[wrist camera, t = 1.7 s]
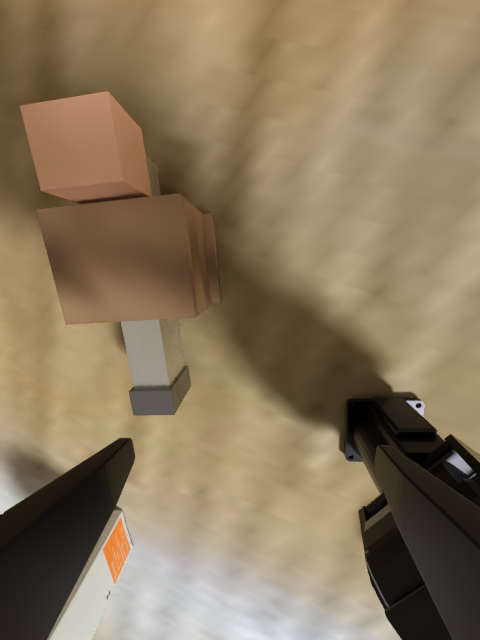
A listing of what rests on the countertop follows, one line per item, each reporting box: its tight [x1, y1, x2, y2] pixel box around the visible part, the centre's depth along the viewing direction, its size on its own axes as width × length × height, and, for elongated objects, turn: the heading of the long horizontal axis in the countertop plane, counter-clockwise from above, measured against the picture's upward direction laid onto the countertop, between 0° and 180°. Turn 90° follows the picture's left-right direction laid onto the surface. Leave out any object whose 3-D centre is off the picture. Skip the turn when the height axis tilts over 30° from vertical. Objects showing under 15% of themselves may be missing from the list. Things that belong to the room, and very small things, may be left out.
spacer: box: [20, 91, 152, 204], centre depth 12 cm, size 4×4×3 cm
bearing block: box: [36, 193, 222, 325], centre depth 17 cm, size 7×10×6 cm
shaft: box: [121, 154, 191, 415], centre depth 17 cm, size 18×3×4 cm, turn 4°
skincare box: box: [47, 510, 133, 640], centre depth 22 cm, size 6×4×12 cm
